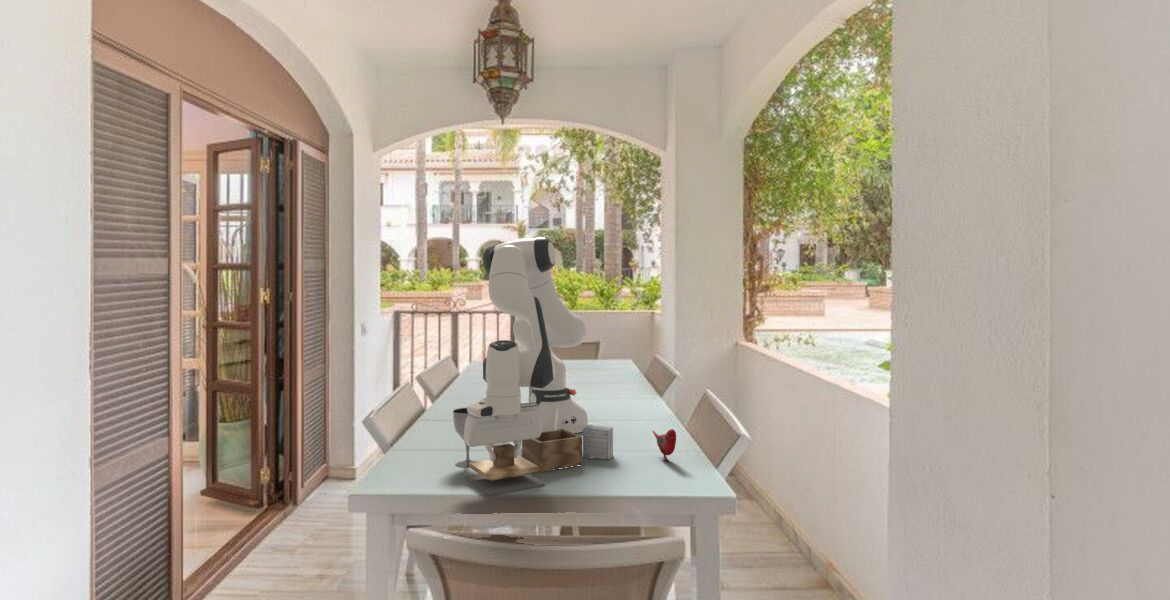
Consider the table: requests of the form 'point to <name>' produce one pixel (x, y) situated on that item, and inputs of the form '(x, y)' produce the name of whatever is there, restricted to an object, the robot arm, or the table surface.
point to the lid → (503, 464)
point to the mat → (503, 483)
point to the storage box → (553, 450)
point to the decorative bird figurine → (666, 442)
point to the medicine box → (598, 442)
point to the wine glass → (461, 433)
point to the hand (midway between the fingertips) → (503, 459)
